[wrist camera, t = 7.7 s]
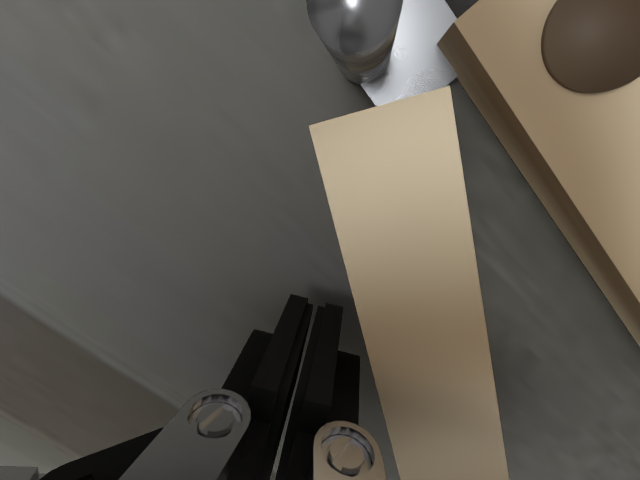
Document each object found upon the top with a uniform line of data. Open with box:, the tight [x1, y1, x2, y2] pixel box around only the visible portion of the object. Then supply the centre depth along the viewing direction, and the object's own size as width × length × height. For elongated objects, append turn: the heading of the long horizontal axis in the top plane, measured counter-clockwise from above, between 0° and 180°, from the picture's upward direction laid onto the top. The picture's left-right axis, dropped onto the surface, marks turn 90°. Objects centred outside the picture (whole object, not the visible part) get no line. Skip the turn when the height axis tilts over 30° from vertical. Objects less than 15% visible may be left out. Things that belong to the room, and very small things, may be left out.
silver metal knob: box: [307, 0, 458, 106], centre depth 7 cm, size 3×3×5 cm
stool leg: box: [309, 86, 509, 480], centre depth 9 cm, size 10×2×4 cm, turn 15°
